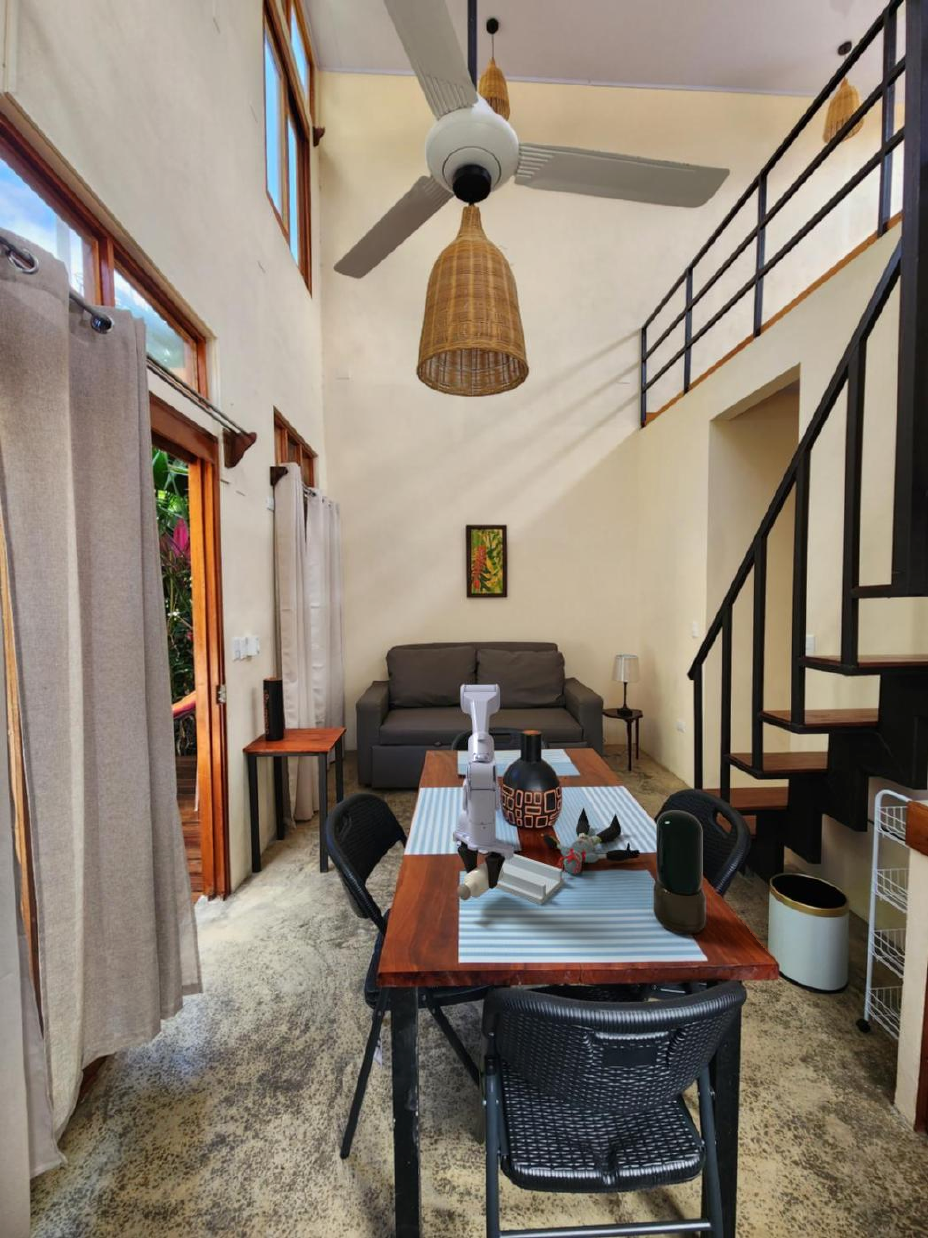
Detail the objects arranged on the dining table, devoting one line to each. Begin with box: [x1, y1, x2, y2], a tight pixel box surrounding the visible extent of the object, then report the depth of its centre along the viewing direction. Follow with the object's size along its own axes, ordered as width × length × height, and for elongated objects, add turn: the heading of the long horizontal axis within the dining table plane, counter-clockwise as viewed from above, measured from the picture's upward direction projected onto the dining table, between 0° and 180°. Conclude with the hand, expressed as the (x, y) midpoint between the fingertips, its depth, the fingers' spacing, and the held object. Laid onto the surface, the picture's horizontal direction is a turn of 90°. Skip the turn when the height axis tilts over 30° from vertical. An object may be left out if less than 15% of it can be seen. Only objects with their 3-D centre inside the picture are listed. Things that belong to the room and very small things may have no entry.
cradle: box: [494, 853, 565, 906], centre depth 118 cm, size 16×11×4 cm
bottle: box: [456, 861, 504, 901], centre depth 108 cm, size 11×5×5 cm, turn 143°
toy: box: [540, 807, 641, 877], centre depth 131 cm, size 26×8×30 cm
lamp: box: [653, 809, 707, 935], centre depth 102 cm, size 10×10×22 cm
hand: (482, 882), depth 109 cm, fingers closed on bottle, 5 cm apart
